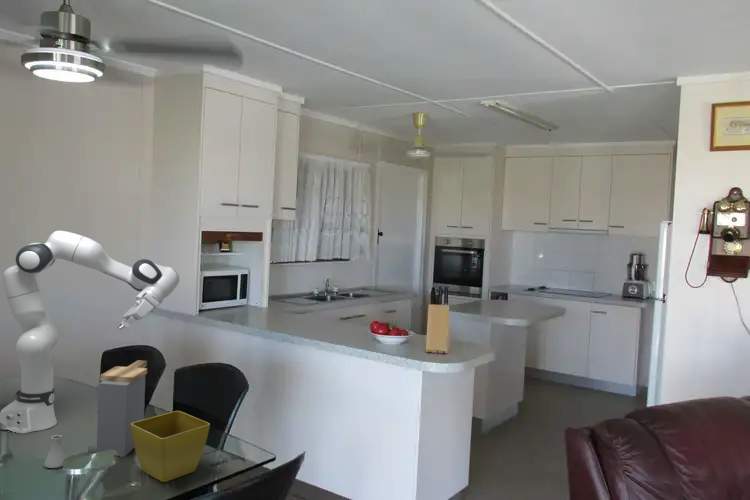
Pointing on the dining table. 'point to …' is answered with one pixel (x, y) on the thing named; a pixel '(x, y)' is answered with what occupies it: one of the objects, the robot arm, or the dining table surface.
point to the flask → (55, 453)
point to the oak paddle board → (126, 373)
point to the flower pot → (169, 444)
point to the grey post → (119, 414)
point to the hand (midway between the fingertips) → (122, 327)
